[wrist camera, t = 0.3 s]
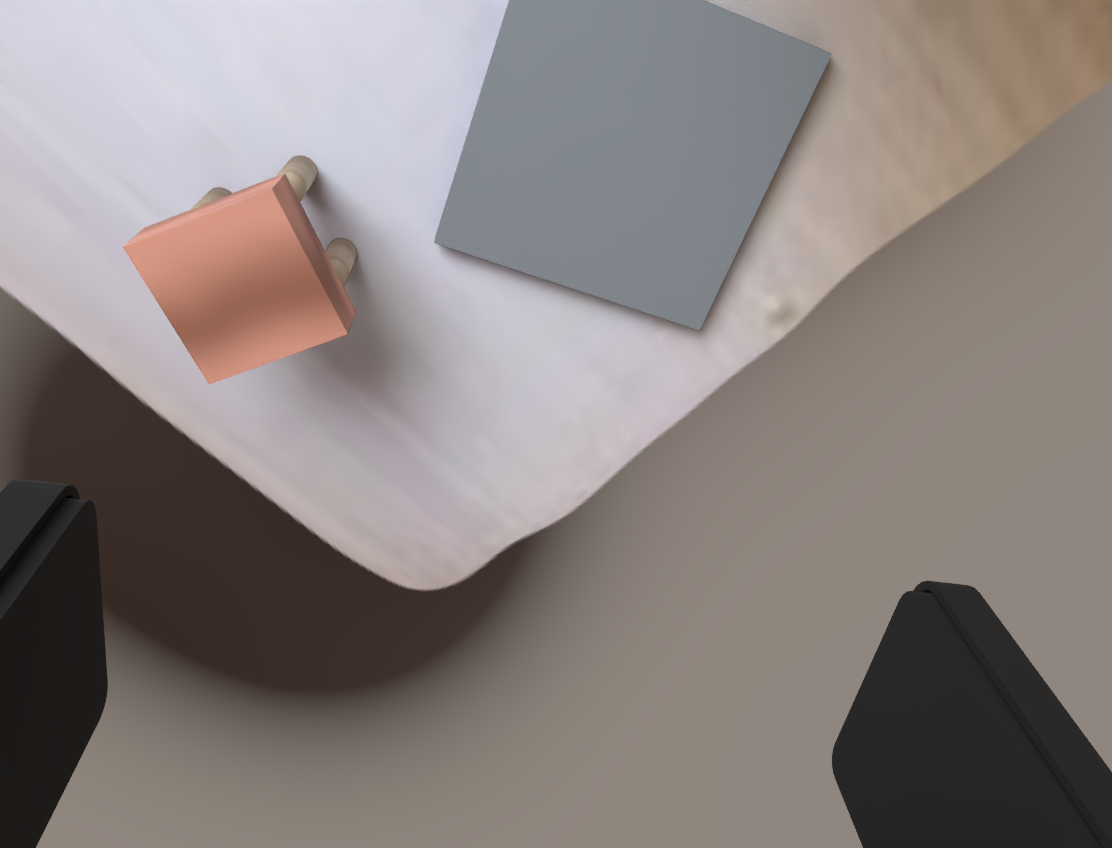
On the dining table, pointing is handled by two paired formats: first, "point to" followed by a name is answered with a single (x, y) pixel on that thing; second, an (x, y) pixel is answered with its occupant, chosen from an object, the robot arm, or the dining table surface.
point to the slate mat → (627, 146)
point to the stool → (247, 274)
